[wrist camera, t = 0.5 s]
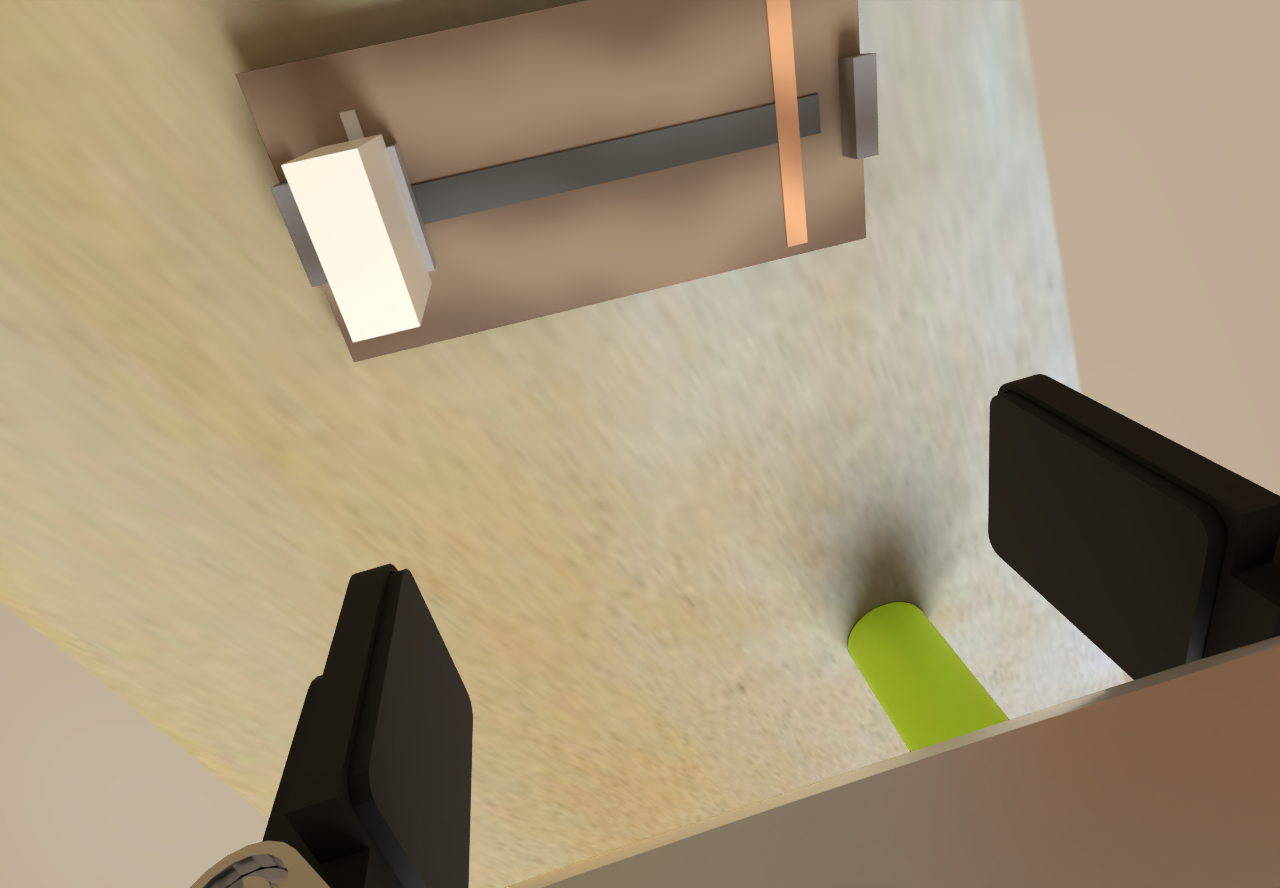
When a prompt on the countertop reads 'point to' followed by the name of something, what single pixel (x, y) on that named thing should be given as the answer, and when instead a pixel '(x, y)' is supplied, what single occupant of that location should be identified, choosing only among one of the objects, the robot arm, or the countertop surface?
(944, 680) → the soap dispenser
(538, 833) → the countertop surface
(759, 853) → the robot arm
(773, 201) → the slider board
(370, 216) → the block
